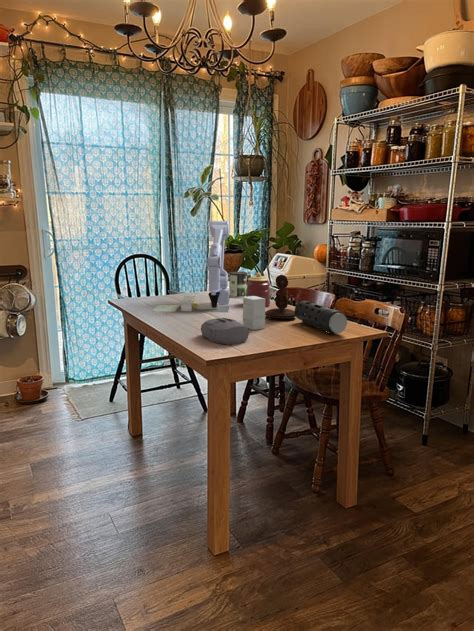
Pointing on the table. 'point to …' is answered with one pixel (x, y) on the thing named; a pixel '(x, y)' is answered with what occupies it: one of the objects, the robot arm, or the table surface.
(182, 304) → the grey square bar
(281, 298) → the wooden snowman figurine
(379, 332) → the table surface
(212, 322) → the soft grey pack
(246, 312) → the small box
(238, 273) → the coffee can
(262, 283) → the canister
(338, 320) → the muzzle brake
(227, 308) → the mat
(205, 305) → the plug
